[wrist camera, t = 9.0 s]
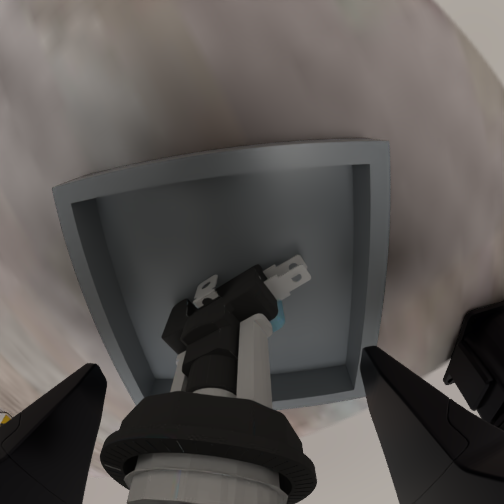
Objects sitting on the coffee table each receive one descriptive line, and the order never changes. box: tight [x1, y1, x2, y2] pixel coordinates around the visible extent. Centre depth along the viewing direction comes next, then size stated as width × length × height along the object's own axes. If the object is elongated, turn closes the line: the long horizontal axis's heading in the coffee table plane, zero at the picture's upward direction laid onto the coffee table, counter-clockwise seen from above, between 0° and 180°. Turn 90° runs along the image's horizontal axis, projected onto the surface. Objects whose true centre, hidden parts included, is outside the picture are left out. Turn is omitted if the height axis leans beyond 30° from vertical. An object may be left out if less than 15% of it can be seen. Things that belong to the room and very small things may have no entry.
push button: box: [100, 254, 317, 504], centre depth 9 cm, size 7×5×10 cm
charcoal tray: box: [52, 138, 390, 410], centre depth 13 cm, size 13×13×2 cm
